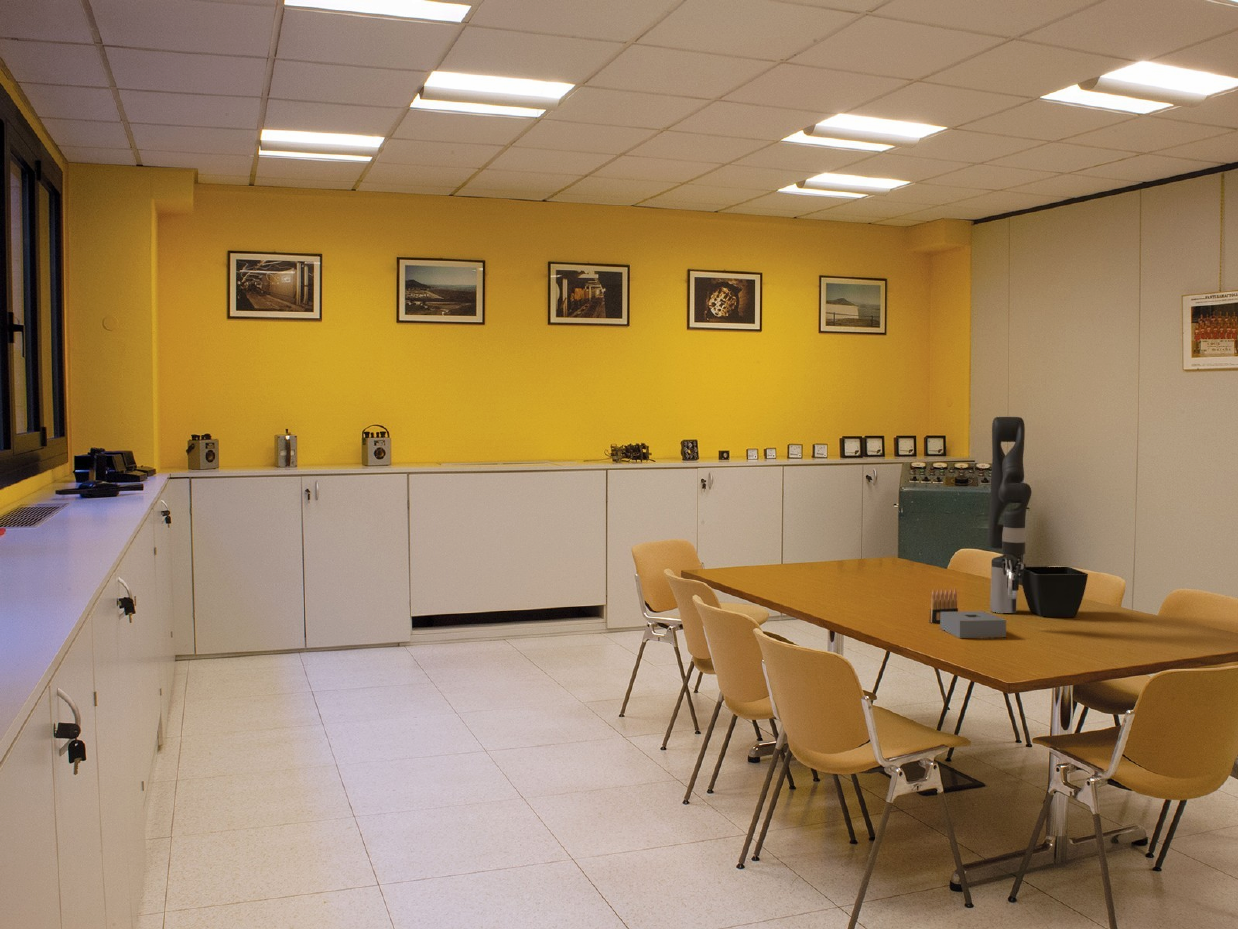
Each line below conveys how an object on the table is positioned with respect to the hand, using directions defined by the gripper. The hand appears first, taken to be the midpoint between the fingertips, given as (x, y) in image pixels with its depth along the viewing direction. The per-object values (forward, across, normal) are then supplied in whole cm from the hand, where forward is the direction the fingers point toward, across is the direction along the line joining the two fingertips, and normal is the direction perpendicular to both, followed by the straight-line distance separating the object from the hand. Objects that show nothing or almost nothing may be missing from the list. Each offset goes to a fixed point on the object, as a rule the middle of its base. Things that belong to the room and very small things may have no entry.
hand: (1012, 589), depth 357 cm
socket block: (+14, -6, +17) cm, 23 cm away
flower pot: (+15, +25, -28) cm, 40 cm away
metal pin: (+3, 0, 0) cm, 3 cm away
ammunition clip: (+14, +13, +19) cm, 27 cm away
